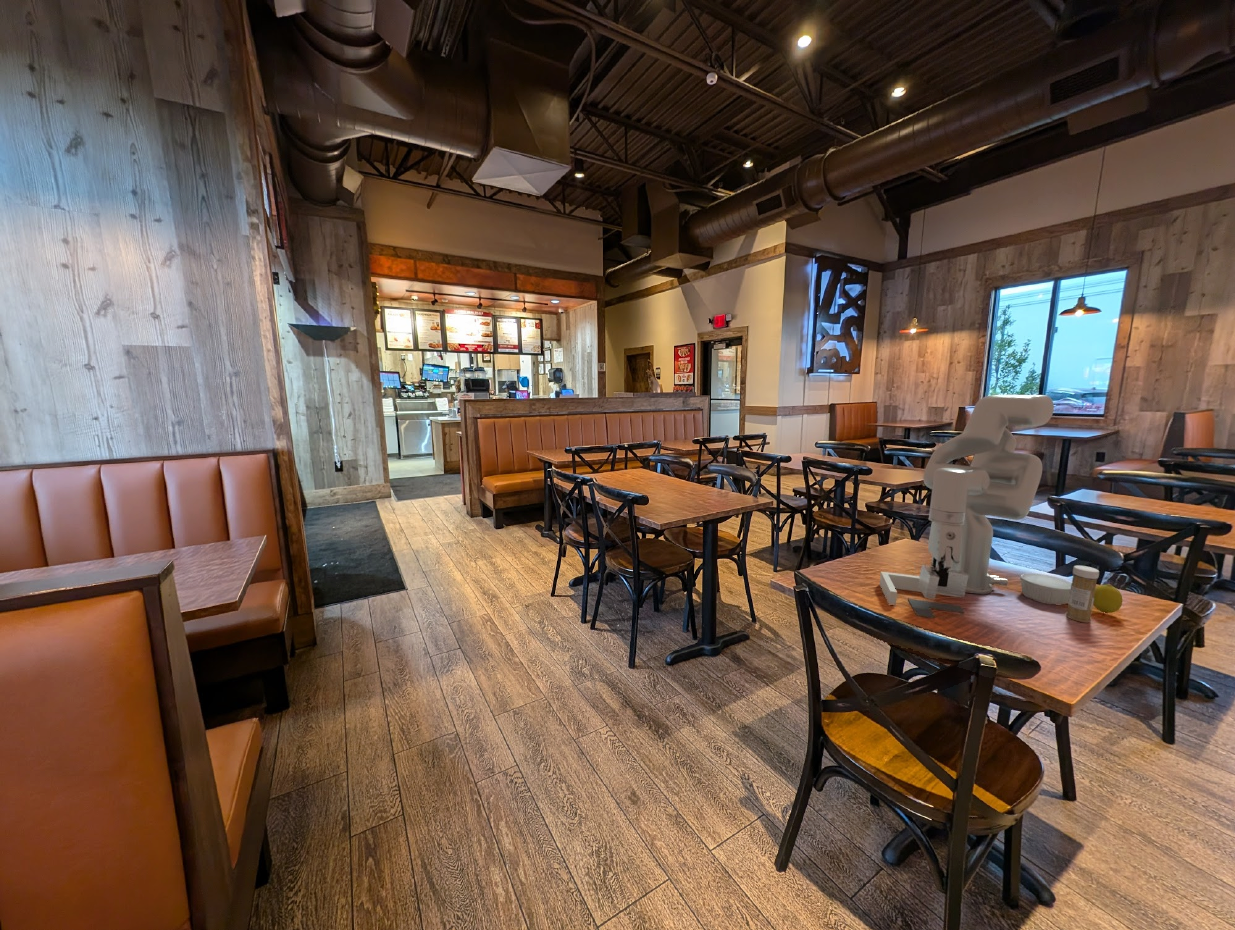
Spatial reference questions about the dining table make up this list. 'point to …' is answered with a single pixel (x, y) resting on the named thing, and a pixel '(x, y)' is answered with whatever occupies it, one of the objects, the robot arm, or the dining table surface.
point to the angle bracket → (930, 586)
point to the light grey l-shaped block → (899, 585)
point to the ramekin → (1045, 588)
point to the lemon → (1107, 598)
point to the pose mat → (932, 607)
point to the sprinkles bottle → (1082, 593)
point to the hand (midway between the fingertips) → (937, 583)
